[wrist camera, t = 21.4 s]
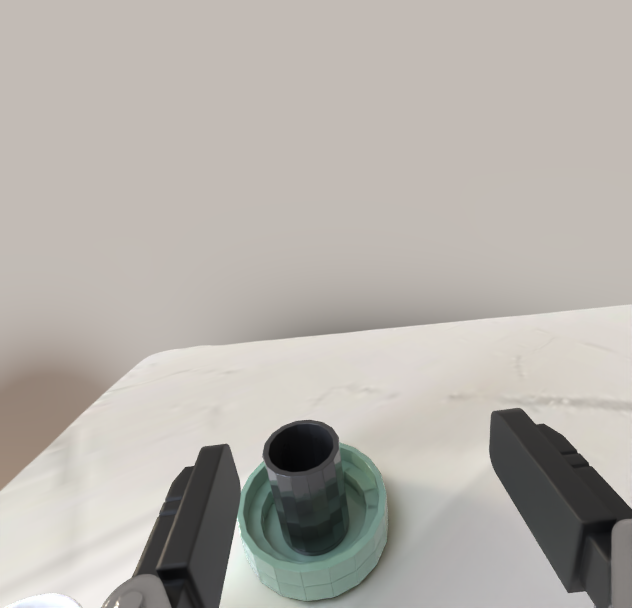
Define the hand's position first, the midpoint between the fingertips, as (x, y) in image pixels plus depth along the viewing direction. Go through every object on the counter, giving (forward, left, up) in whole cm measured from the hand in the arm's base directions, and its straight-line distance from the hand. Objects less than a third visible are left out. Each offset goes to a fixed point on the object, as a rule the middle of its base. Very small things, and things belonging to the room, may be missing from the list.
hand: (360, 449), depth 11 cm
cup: (-1, -16, -22) cm, 27 cm away
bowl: (-1, -16, -23) cm, 28 cm away
